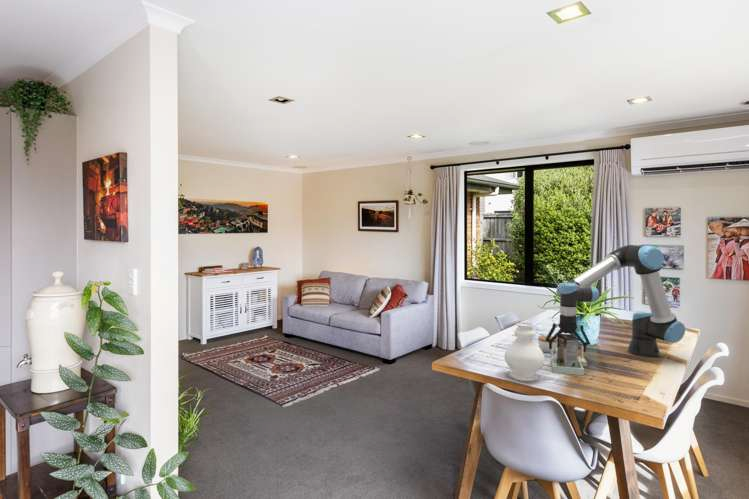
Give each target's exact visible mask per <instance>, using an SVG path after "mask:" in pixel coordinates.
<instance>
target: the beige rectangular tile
mask: <svg viewBox="0 0 749 499" xmlns="http://www.w3.org/2000/svg"><path fill="white" fill-rule="evenodd" d="M577 360H580V362H581V364H582V366H583V367H587V366H588V362H587V360H586V359H585V357H584V356H583V359H581V355H578V359H577Z"/></svg>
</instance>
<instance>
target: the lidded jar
mask: <svg viewBox="0 0 749 499" xmlns="http://www.w3.org/2000/svg"><path fill="white" fill-rule="evenodd" d="M553 336H554V335H551V337H550V339H551V338H552V337H553ZM546 337H547V335H540V336H538V339H537V340H538V343H537V344H538V346H539V347H540V349H541V350H542V352H543V353H547V354H551V349H549V342H547V341H546V340H545V339H546ZM557 341H558V337H557V338H556V339H555V340H554V341H553V343H554V347H553V353H554V352H555V351H557Z"/></svg>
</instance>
